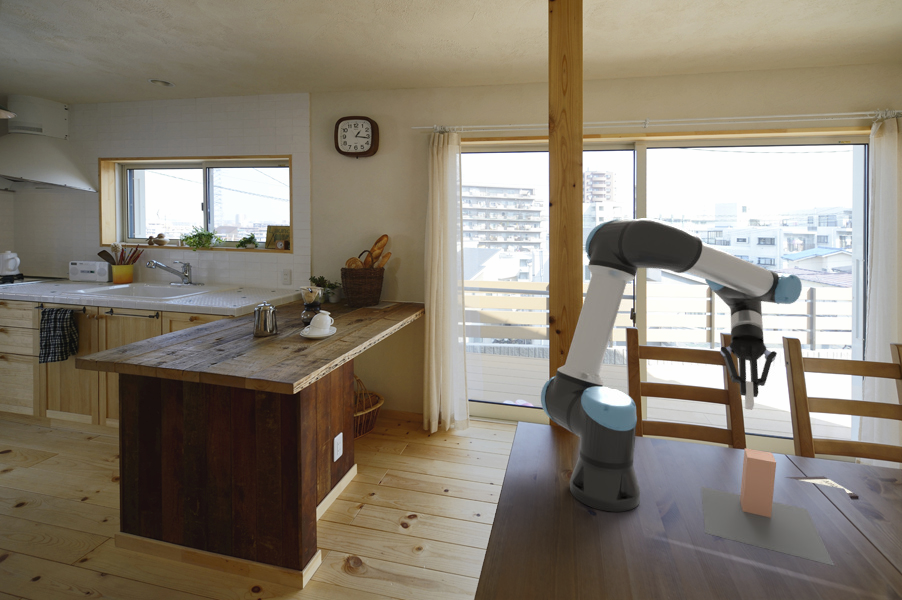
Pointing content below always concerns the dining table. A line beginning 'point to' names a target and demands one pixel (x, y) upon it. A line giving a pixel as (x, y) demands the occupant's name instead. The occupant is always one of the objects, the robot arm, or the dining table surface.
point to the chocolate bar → (824, 483)
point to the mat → (763, 526)
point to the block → (757, 482)
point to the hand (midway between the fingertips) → (749, 406)
